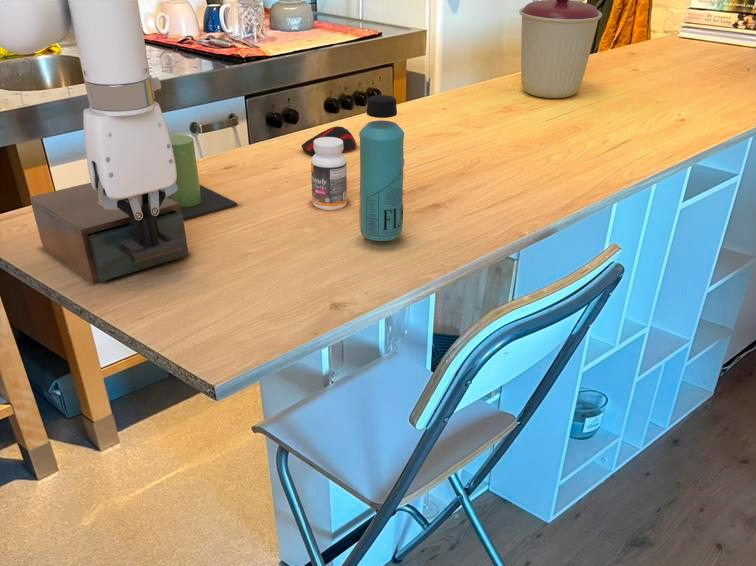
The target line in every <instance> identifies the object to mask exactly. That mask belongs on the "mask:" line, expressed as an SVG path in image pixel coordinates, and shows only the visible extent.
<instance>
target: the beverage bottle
mask: <svg viewBox="0 0 756 566" xmlns="http://www.w3.org/2000/svg"><path fill="white" fill-rule="evenodd" d="M366 103H367V105H366V115H367V116H368V117H371V118H375V119H388V118H393V117H396V116H398V109H397V99H396V97H394V96H392V95H387V94H377V95H376V94H375V95H371V96H369V97H368V98H367V101H366ZM358 136H359V172H360V173H359V183H358V184H359V192H358V195H359V197H358V200H359V211H358V215H359V220H358V221H359V222H358V223H359V230H360V233H361V236H362V237H363V238H365V239H367V240H371V241H376V242H388V241H393V240H396V239H398V238H399V237H401V236H402V235H401V234H402V232H403V228H404V200H403V197H404V194H405V193H404V177H405V174H404V166H405V159H404V158H405V156H406V155H404V153H405V151H404V142H405V141H404V138H405V131H404V130H403V129H402V127H400V125H398V124H397V123H396V122H394V121H390V120H372V121H369V122H367V123H366V124H365V125H364V126H363V127H362V128H361V129H360V131H359V133H358Z"/></svg>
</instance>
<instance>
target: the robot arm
mask: <svg viewBox="0 0 756 566" xmlns="http://www.w3.org/2000/svg"><path fill="white" fill-rule="evenodd" d="M144 35H145V34H144V30H143V24H142V18H141V10H140V5H139V0H0V48H2V49H3V50H5V51H6V52H9V53H11V54H15V55H22V56H24V55H26V56H27V55H32V54H34V53H37V52H40V51H42V50H44V49H47V48H49V47H51V46H53V45H56V44H59V43H62V42H65V41H67V40H69V39H72V38H74V39H75V42H76V47H77V53H78V58H79V63H80V67H81V72H82V76H83V82H84V86H85V91H86V96H87V100H88V101H87V102H88V104H89V105H88V106H89V107H88V108H84V109H83V117H82V118H83V139H84V149H85V156H86V157H85V158H86V163H87V171H88V175H89V180H90V183H91V184H92V187H93V189H94V190H95V191H98V205H99V206H100V207H102V208H103V209H105V210H121V211H123V212H124V213H126V214H127V215H129V217H130V223H131V228H132V233H133V237H134V240H135V241H136V242H137V243H138V244H139V245H141V246H143V247H144V248H147V247H150V246H154V245H157V244H159V242H158V237H159V230H158V224H157V218H156V216H157V215H158V214H159V207H160V206H161V204H162V202H163V200H164V199H165V197H168V196H170V195H171V194H173V193H175V192H176V191H177V190H178V186H177V184H176V179H177V173H176V165H175V159H174V154H173V149H172V145H171V140H170V136H171V135H170V133H169V129H168V126H167V123H166V119H165V116H164V114H163V111H162V108H161V107H160V103H158V101H155V99H156V96H155V92H156V91H158V90H161V89H162V82H161V80H160V78H159V77H152V75H151V73H150V67H149V61H148V55H147V49H146V43H145V36H144ZM138 195H140V204H139V201H138V198H137V196H138ZM140 206H141V207H140Z"/></svg>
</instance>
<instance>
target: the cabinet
mask: <svg viewBox="0 0 756 566" xmlns="http://www.w3.org/2000/svg"><path fill="white" fill-rule="evenodd" d="M137 198H138V201H139V204H140V195H138V196H137ZM29 200H30V205H31V208H32V211H33V216H34V220H35V223H36V227H37V231H38V235H39V238H40V241H41V242H40V243H41V245H42V249H43V250H44V251H45V252H47V253H48V254H50V255H51V256H52V257H54V258H55V259H57V260H58V261H60V262H61V263H62V264H64V265H65V266H67V267H68V268H70V269H71V270H72V271H73V272H75V273H76V274H78V275H79V276H81V278H83V279H85V280H86V281H88V282H89V283H91V284H92V285H96V284H99V283H104V282H105V281H106V282H107V281H110V280H113V279H116V278H119V277H122V276H126V275H129V274H133V273H136V272H139V271H142V270H146V269H149V268H152V267H155V266H159V265H162V264H165V263H169V262H172V261H175V260H179V259H182V258H185V257H186V256H184V257H180V258H177V259H174V260H170V261H167V262H164V263H161V264H157V265H154V266H151V267H147V268H144V269H141V270H138V271H134V272H131V273H128V274H125V275H121V276H118V277H115V278H111V279H108V280H105V281H100V280H99V279H98V278H97V273H96V269H95V265H94V260H93V256H92V252H91V247H90V243H89V238H88V234H90V233H94V232H98V231H101V230H105V229H109V228H112V227H116V226H120V225H124V224H127V223H130V217H129V215H127V214H126V213H124V212H123V211H121V210H105V209H103V208H102V207H100V206H99V205H98V191H95V190H94V189H93V187H92V184H91V182H87V183H82V184H79V185H74V186H70V187H66V188H62V189H61V188H60V189H57V190H54V191H49V192H44V193H41V194H40V193H39V194H36V195H32V196H29ZM140 207H141V206H140ZM168 212H169V214H173V213H176V212H179V213H181V211H180V204H179V203H177V202H175V201H173V200H171V199H169V198H168V197H165V199H164V200H163V202H162V204H161V206H160V207H159V214H158V215H161V214H164V213H168Z"/></svg>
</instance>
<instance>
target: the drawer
mask: <svg viewBox="0 0 756 566" xmlns="http://www.w3.org/2000/svg"><path fill="white" fill-rule="evenodd" d="M156 218H157V224H158V230H159V237H158V242H159V244H157V245H154V246H150V247H147V248H144V247H143V246H141V245H139V244H138V243H137V242H136V241H135V240H134V237H133V233H132V228H131V223H127V224H124V225H120V226H116V227H112V228H109V229H105V230H101V231H98V232H94V233H90V234H88V238H89V243H90V247H91V252H92V256H93V260H94V265H95V269H96V273H97V278H98V279H99V280H100V281H103V282H105V280H107V281H109V280H108V279H110V280H112V279H111V278H113V279H116V278H115V277H117V278H119V277H118V276H120V277H122V276H121V275H123V276H126V275H129V274H128V273H130V274H132V273H131V272H133V273H135V272H134V271H136V272H139V271H142V270H141V269H143V270H145V269H144V268H146V269H148V268H147V267H149V268H152V267H151V266H153V267H155V266H154V265H156V266H158V265H157V264H159V265H162V264H165V263H164V262H166V263H168V262H167V261H169V262H171V261H170V260H172V261H175V260H174V259H176V260H178V259H177V258H179V259H181V258H180V257H182V258H185V257H188V256H189V248H188V243H187V242H188V241H187V235H186V227H185V221H184V220H183V214H181V213H179V212H176V213H173V214H169V212H168V213H164V214H161V215H157V216H156ZM184 256H185V257H184ZM161 263H162V264H161ZM138 270H139V271H138ZM125 274H126V275H125Z"/></svg>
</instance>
